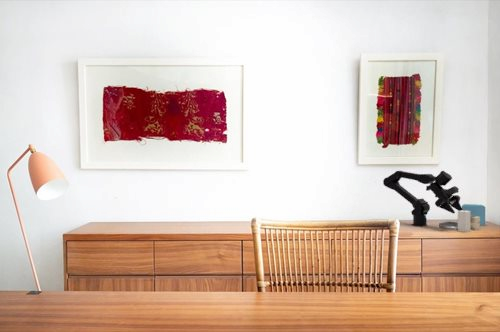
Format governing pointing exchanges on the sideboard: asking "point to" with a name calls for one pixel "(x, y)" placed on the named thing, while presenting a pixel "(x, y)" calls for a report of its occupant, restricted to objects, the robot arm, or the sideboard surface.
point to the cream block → (464, 221)
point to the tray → (449, 224)
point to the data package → (476, 211)
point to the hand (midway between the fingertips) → (458, 212)
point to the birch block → (474, 223)
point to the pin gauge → (448, 227)
